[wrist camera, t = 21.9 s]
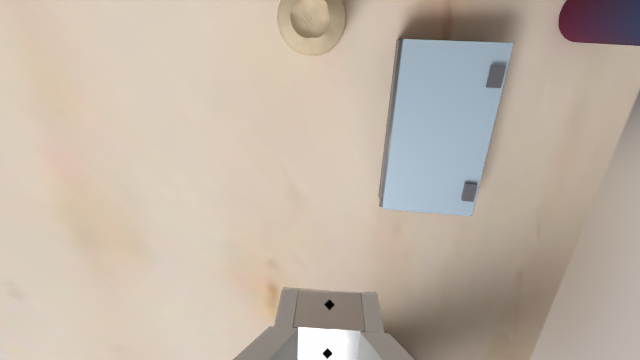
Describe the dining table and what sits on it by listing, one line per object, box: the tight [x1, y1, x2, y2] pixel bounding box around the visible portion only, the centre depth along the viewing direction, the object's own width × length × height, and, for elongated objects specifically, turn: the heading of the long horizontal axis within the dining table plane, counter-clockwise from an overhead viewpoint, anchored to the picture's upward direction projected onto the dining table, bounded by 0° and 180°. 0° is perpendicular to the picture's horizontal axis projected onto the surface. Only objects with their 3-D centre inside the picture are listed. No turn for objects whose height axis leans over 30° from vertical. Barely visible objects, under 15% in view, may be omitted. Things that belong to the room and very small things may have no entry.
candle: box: [277, 0, 346, 56], centre depth 29 cm, size 6×6×10 cm
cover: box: [379, 39, 514, 216], centre depth 34 cm, size 18×10×2 cm, turn 178°
